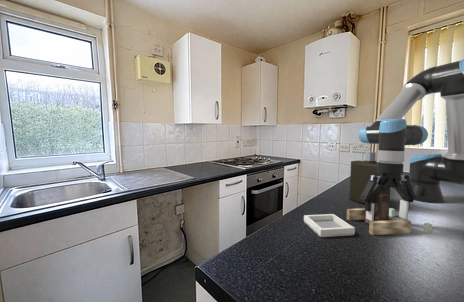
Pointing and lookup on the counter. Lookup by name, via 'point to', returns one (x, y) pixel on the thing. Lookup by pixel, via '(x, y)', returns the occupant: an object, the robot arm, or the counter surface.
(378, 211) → the box
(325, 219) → the tray
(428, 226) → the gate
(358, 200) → the bottle
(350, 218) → the channel
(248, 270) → the counter surface
